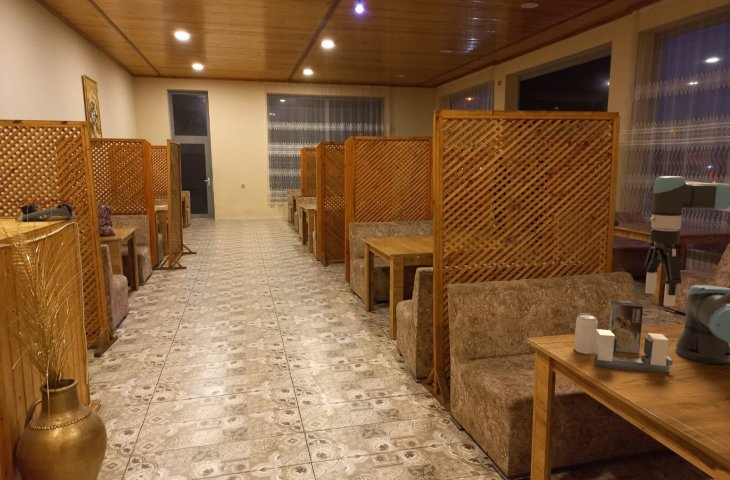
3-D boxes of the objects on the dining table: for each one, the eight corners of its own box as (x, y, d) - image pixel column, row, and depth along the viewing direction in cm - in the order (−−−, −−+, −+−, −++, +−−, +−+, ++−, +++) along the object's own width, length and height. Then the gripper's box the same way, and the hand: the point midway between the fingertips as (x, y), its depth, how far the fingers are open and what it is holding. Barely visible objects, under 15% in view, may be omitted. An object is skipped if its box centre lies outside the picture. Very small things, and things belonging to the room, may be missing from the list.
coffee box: (636, 347, 170) (641, 301, 167) (639, 354, 164) (644, 306, 161) (606, 343, 173) (610, 298, 171) (608, 350, 167) (612, 303, 165)
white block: (659, 359, 154) (662, 334, 152) (665, 365, 149) (668, 340, 148) (642, 357, 155) (645, 332, 153) (648, 364, 150) (650, 338, 149)
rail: (666, 367, 154) (669, 334, 152) (672, 374, 149) (676, 340, 147) (593, 361, 158) (596, 329, 156) (597, 367, 153) (600, 334, 152)
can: (597, 355, 163) (600, 319, 161) (576, 353, 164) (578, 318, 162) (592, 348, 169) (595, 313, 167) (572, 346, 170) (574, 312, 168)
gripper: (635, 223, 161) (630, 288, 164) (670, 235, 136) (663, 310, 140) (661, 223, 160) (655, 288, 163) (700, 235, 135) (692, 311, 139)
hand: (659, 299), depth 151 cm, fingers open, 13 cm apart
